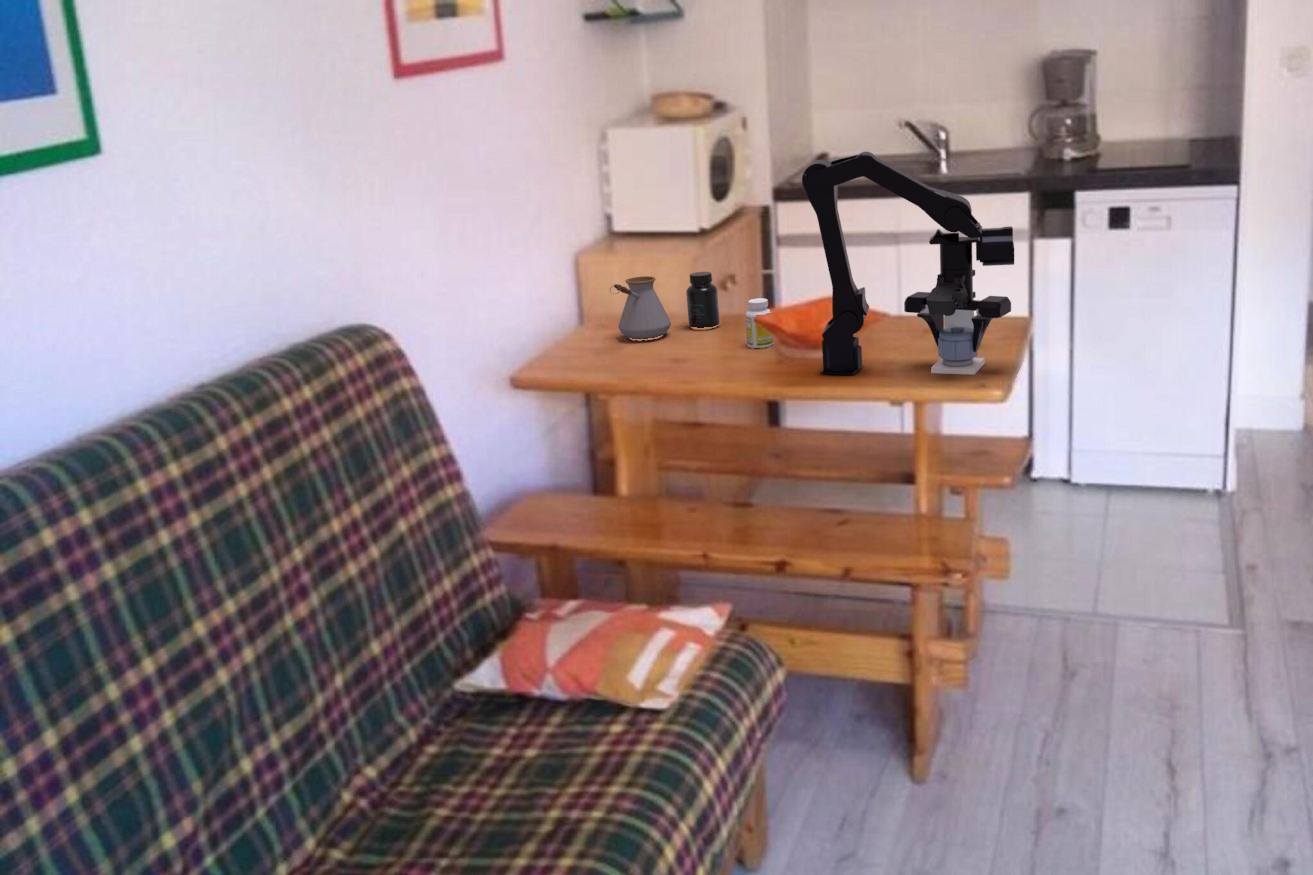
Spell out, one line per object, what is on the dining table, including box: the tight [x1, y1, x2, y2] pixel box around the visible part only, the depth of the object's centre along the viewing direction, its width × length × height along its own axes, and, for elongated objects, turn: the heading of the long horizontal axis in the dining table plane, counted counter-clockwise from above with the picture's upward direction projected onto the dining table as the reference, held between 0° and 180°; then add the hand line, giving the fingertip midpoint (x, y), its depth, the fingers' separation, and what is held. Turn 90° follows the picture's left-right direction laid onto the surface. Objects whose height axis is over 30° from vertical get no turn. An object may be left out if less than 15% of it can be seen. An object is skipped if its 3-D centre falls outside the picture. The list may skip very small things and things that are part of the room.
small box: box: [944, 298, 975, 329], centre depth 269 cm, size 8×6×10 cm
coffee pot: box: [609, 275, 672, 339], centre depth 293 cm, size 21×12×15 cm, turn 160°
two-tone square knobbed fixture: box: [930, 357, 986, 376], centre depth 254 cm, size 8×8×5 cm
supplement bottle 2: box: [745, 298, 774, 349], centre depth 282 cm, size 5×5×10 cm
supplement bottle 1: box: [686, 271, 721, 328], centre depth 302 cm, size 7×7×12 cm
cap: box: [937, 327, 978, 361], centre depth 253 cm, size 7×7×5 cm
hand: (957, 350), depth 254 cm, fingers closed on cap, 6 cm apart
